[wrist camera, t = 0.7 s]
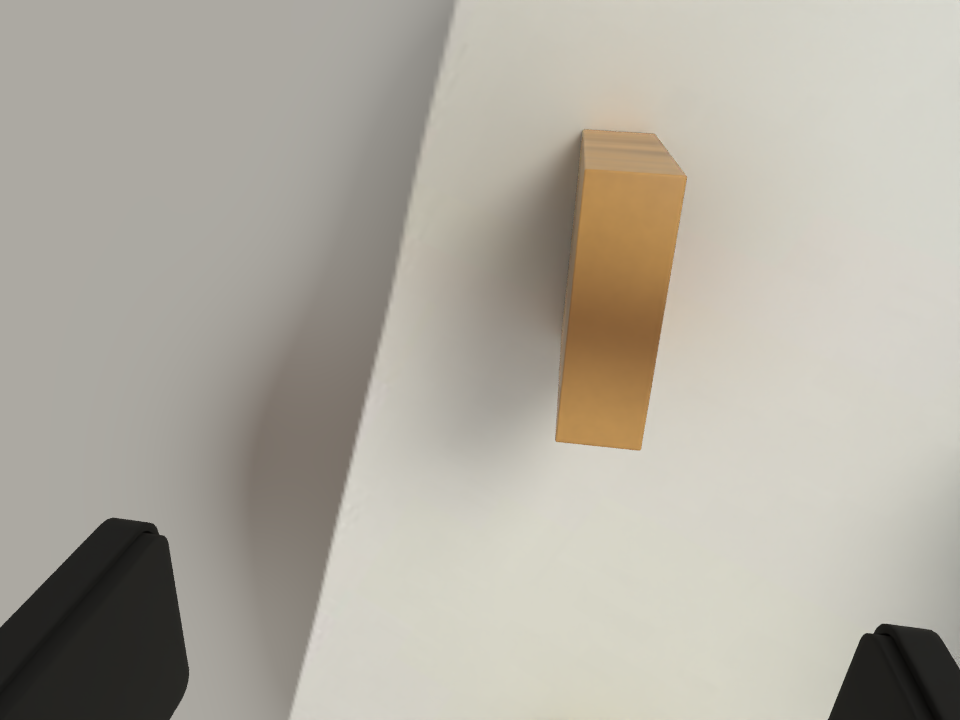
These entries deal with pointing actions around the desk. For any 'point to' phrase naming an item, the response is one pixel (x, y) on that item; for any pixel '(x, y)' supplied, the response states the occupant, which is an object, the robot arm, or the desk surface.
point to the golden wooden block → (616, 286)
